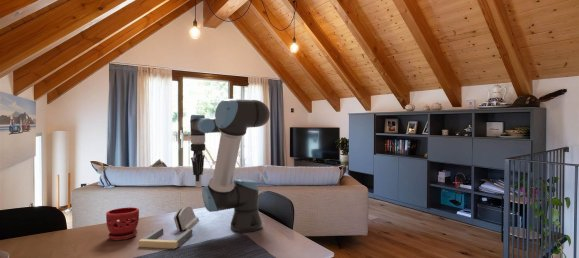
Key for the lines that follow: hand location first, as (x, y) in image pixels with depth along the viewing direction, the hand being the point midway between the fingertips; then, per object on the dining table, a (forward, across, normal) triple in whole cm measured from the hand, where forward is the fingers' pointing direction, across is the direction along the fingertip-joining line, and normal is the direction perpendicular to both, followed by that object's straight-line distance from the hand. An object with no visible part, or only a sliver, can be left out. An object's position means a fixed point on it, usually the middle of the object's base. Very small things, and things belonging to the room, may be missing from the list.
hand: (198, 186), depth 172 cm
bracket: (+16, +34, 0) cm, 38 cm away
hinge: (+17, +15, 0) cm, 22 cm away
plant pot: (+16, +32, -22) cm, 42 cm away
